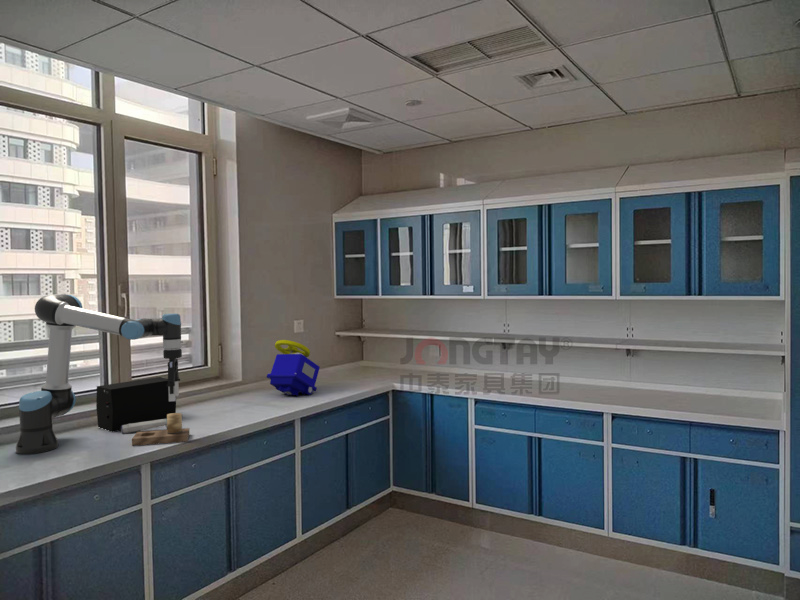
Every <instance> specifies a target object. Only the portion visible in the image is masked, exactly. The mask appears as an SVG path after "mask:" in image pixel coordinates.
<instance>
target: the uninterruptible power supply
mask: <svg viewBox="0 0 800 600" xmlns="http://www.w3.org/2000/svg"><path fill="white" fill-rule="evenodd" d="M166 385H168V378H166V377H165V378H164V377H162V376H156V377H149V378H143V379H137V380H130V381H129V380H128V381H123V382H117V383H110V384H102V385H96V406H95V408H96V419H97V427H100V428H99V429H101V428H103V429H102V430H105V429H106V430H105V431H108V430H109V431H108V432H111V431H112V433H113V431H114V432H118V431H117V430H119V431H121V426H122V425H127V424H129V423H130V424H132V423H139V422H146V421H153V420H160V419H167V415H168V414H171V413H177V400H176V401H169V391H168V387H167V386H166Z"/></svg>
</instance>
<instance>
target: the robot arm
mask: <svg viewBox="0 0 800 600" xmlns="http://www.w3.org/2000/svg"><path fill="white" fill-rule="evenodd" d="M34 312H35V315H36V317H37V318H38V319H39V320H40V321H41V322H44V323H45V325H46V326H47V327H48V328H49V333H48V335H49V336H48V347H47V360H46V361H47V362H46V378H45V383H43V384H42V385H41V388H40V390H38V391H33V392H29V393H25V394H24V395H22V396H21V397H20V398H19V401H18V403H19V404H18V410H19V413H18V414H19V435H18V437H17V438H18V439H17V443H16V445H15V453H17V454H20V455H31V454H34V455H35V454H40V453H45V452H50V451H53V450H54V449H57V448H58V447H59V440H58V437H57V436H56V434H55V431H54V429H53V428H54V427H53V419H55V418H58V417H61V416H64V415H65V414H67V413H69V412H70V411H71V410H73V408H74V407H75V404H76V401H77V399H76V395H75V393H74V392H73V390H72V387H73V386H72V384H70V383H69V375H70V366H71V365H70V362H71V350H72V339H73V338H72V336H73V335H72V334H73V329H74V328H75V327H82V328H86V329H89V330H94V331H97V332H98V331H99V332H104V333H109V334H113V335H117V336H121V337H123V338H125V339H127V340H138V339H141V338H145V337H146V338H147V337H152V336H153V337H154V336H156V337H157V336H162V348H163V352H162V353H163V354H162V355H163V358H164V359H166V360H167V359H168V362H167V379H168V385H166V386H167V387H168V391H169V401H176V402H177V397H179V395H180V393H179V392H180V391H179V389H180V388H179V382H180V381H181V378H180V377H179V361H178V360H179V359H180V358H182V356H183V353H182V352H183V350H182V343H183V340H182V321H181V315H180V314H179V313H164V314H162V317H161V318H144V317H143V318H137V319H132V318H126V317H122V316H117V315H113V314H110V313H109V314H108V313H104V312H101V311H95V310H90V309H86V308H84V307H83V304H82V302H81V300H80V299H79V298H78V297H77V296H75V295H72V294H66V293H63V294H62V293H61V294H47V295H44V296H42V297H41V298H39V299H38V300H37V301H36V302H35V305H34Z"/></svg>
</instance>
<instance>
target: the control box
mask: <svg viewBox="0 0 800 600" xmlns="http://www.w3.org/2000/svg"><path fill="white" fill-rule="evenodd" d="M282 346H287V347H285V348H283V347H282ZM274 348H275V350H277V351H278V352H280V353H279V354H278V353H277V354H276V356H275V358H274V363H273V364H272V365H273V366H272V368H271V372H268V373H267V375H266V378H267V379H269V380H270V381H269V384H270V385H271V386H273V387H274V388H275V390H276V391H277V390H278V391H279V392H282V393H283V394H284V395H285V394H286V396H287V395H289V396H295V395H296V397H298V395H299V393H301V394H302V395H303V394H307V395H309V396H310V395H312V394H313V392H316V391H317V386H316V383H317V379H318V375H319V372H320V368H321V367H320V366H319V365H318V364H316V363H315V362H314V361H312V360H311V359H310V358H308V357H309V356H310V354H311V351H310V349H309V347H307V346H306V345H304V344H301V342H300V343H299V342H297V341H294V340H288V339H279V340H277V341H276V342H275V344H274ZM281 353H282V354H281Z"/></svg>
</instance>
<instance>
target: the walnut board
mask: <svg viewBox="0 0 800 600" xmlns="http://www.w3.org/2000/svg"><path fill="white" fill-rule="evenodd" d="M190 433H191V432H190V428H189V427H187V428H182V433H179V434H167V429H160V430H159V429H158V430H157V429H156V430H146V431H145V430H142V431H136V433H135V434H134V435H133V437H132V438H131V447H134V446H133V445H138V446H148V445H147V444H151V445H159V444H158V443H164V444H173V443H172V442H176V443H186V442H188V441H189V438H188V437H190V435H191V434H190ZM189 434H190V435H189ZM181 441H183V442H181ZM184 441H185V442H184Z"/></svg>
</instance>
